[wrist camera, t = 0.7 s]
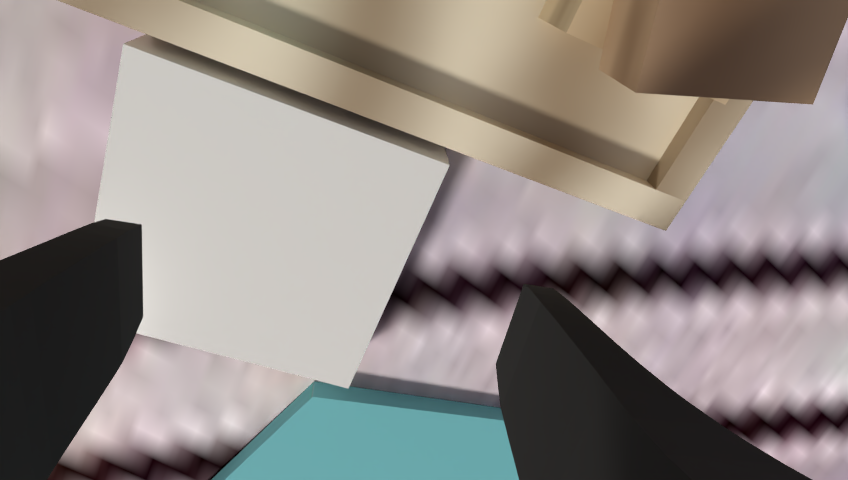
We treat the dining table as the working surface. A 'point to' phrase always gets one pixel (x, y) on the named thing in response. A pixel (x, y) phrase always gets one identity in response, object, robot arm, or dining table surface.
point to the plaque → (376, 439)
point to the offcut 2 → (723, 47)
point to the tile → (260, 211)
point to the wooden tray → (464, 87)
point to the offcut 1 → (583, 20)
